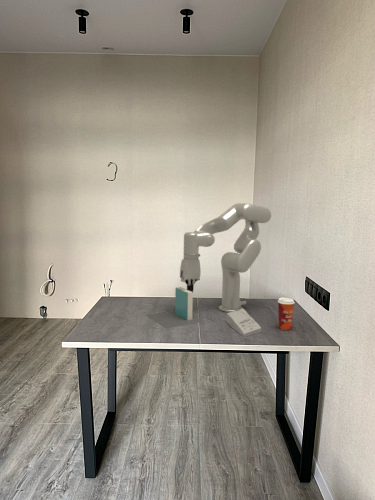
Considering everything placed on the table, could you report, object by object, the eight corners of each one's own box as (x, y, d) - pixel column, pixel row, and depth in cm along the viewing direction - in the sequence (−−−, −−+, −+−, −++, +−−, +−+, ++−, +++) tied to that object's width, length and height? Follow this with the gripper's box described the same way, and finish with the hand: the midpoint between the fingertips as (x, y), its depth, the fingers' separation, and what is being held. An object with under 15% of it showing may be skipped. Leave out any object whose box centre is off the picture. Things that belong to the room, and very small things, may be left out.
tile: (180, 313, 198) (180, 287, 196) (192, 319, 188) (192, 292, 186) (175, 313, 196) (175, 287, 194) (187, 320, 186) (187, 292, 184)
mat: (182, 310, 204) (182, 309, 204) (205, 321, 186) (205, 320, 186) (146, 316, 193) (146, 315, 193) (165, 329, 174) (165, 328, 174)
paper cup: (284, 331, 173) (285, 302, 171) (273, 326, 179) (274, 298, 178) (297, 329, 176) (298, 300, 174) (285, 324, 183) (287, 296, 181)
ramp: (263, 338, 166) (263, 326, 165) (227, 337, 167) (227, 325, 166) (256, 318, 193) (256, 308, 193) (225, 317, 194) (225, 307, 194)
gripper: (199, 255, 197) (198, 289, 199) (174, 256, 189) (173, 292, 191) (207, 257, 190) (206, 292, 193) (181, 258, 183) (181, 295, 185)
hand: (190, 292), depth 192 cm, fingers closed
